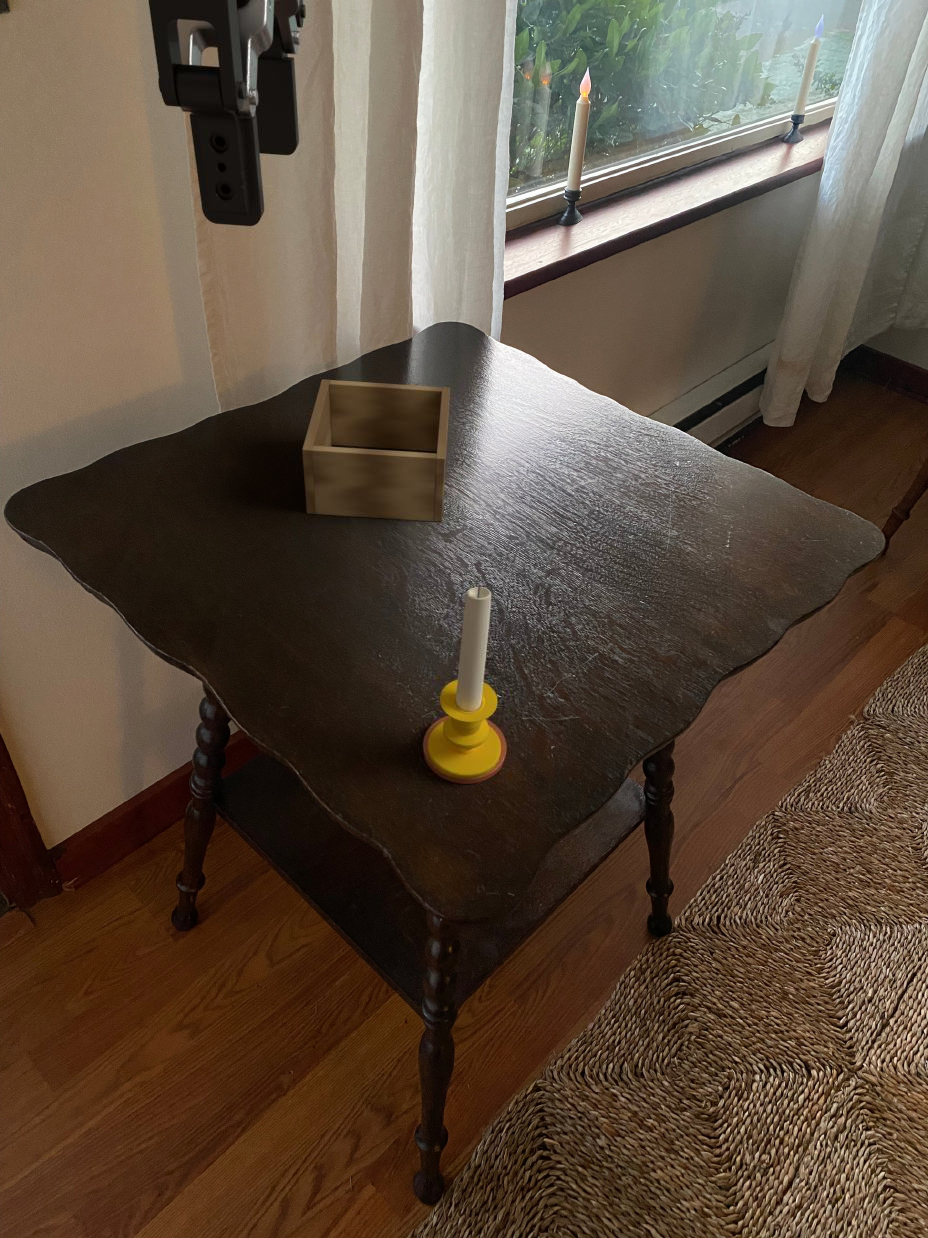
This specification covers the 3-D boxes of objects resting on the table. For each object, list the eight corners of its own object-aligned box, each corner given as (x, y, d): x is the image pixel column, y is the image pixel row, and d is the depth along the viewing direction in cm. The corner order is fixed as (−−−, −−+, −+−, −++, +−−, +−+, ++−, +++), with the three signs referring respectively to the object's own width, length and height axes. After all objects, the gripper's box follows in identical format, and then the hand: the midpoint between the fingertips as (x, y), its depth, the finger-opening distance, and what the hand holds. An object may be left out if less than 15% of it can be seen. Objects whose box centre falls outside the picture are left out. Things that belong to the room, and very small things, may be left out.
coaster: (420, 782, 62) (420, 776, 62) (425, 715, 67) (425, 710, 66) (506, 786, 62) (507, 781, 62) (505, 720, 67) (506, 715, 66)
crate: (306, 513, 83) (302, 449, 79) (325, 440, 93) (321, 378, 88) (441, 522, 84) (445, 458, 79) (446, 448, 93) (450, 387, 88)
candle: (422, 724, 65) (430, 559, 54) (493, 718, 66) (513, 554, 55) (432, 783, 61) (442, 618, 51) (506, 775, 62) (532, 612, 52)
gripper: (141, -384, 31) (205, 128, 42) (-32, -460, 21) (112, 243, 32) (356, -365, 31) (363, 139, 43) (290, -431, 21) (323, 258, 32)
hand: (256, 184), depth 37 cm, fingers open, 8 cm apart
